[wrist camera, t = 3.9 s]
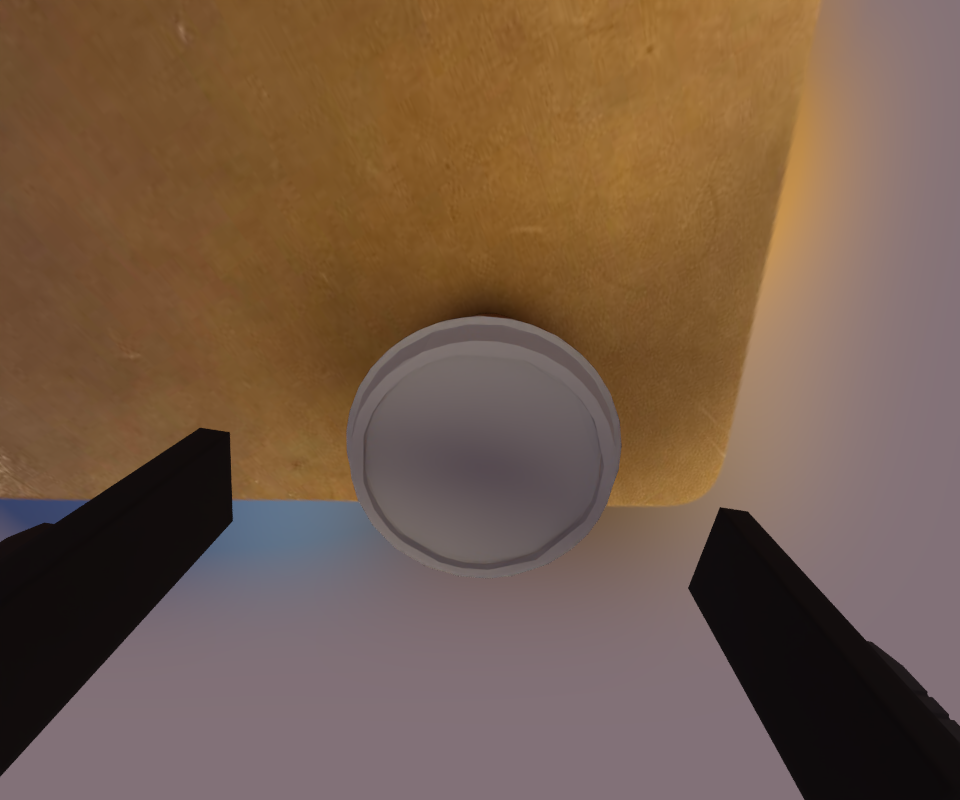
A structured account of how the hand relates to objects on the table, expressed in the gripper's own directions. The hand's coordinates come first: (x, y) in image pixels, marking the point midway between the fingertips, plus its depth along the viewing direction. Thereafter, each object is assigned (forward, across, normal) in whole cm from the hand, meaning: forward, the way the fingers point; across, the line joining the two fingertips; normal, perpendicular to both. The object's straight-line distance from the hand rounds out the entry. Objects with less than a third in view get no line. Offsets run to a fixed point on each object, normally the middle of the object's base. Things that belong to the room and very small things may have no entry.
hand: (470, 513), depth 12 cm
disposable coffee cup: (+15, 0, 0) cm, 15 cm away
